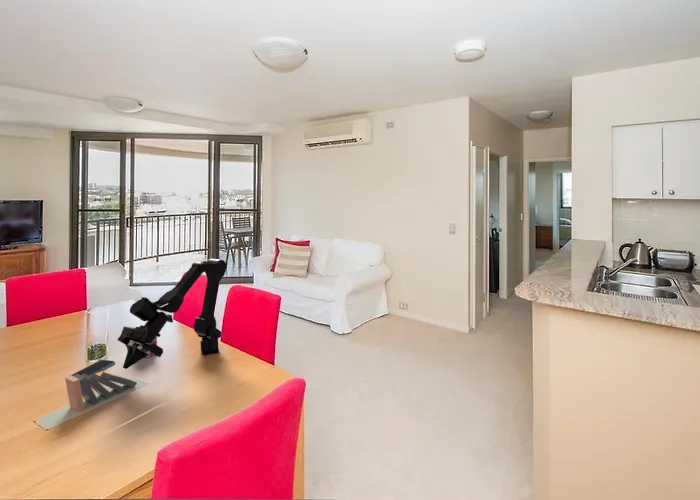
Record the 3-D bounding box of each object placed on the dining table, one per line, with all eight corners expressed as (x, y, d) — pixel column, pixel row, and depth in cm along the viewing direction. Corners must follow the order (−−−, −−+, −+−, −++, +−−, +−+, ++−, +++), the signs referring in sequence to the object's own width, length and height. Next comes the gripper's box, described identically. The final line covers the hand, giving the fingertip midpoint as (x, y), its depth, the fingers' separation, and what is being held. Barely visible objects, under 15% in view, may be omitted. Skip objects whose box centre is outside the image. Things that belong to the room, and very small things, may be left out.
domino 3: (104, 390, 123) (83, 373, 118) (112, 394, 121) (92, 376, 115) (99, 395, 122) (79, 377, 117) (108, 399, 120) (87, 381, 114)
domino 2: (90, 397, 120) (76, 373, 116) (98, 401, 118) (85, 377, 114) (85, 401, 119) (71, 376, 115) (93, 405, 116) (79, 380, 112)
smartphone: (64, 378, 134) (101, 359, 148) (65, 380, 134) (101, 362, 148) (81, 380, 132) (116, 361, 146) (81, 383, 132) (116, 363, 146)
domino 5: (128, 379, 130) (102, 371, 123) (137, 382, 128) (111, 375, 120) (126, 383, 130) (100, 376, 122) (134, 387, 127) (108, 380, 120)
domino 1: (76, 404, 116) (71, 375, 115) (84, 409, 114) (79, 379, 112) (70, 407, 115) (65, 377, 113) (78, 412, 113) (73, 381, 111)
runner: (134, 378, 134) (134, 377, 134) (149, 384, 130) (149, 383, 130) (31, 421, 108) (31, 420, 108) (46, 431, 104) (46, 430, 104)
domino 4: (116, 384, 127) (92, 372, 120) (124, 388, 124) (100, 376, 118) (113, 389, 126) (88, 377, 119) (121, 393, 124) (97, 381, 117)
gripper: (120, 312, 133) (89, 352, 125) (152, 320, 124) (121, 365, 116) (143, 326, 141) (116, 365, 133) (175, 336, 132) (147, 378, 124)
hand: (124, 368), depth 126 cm, fingers closed
